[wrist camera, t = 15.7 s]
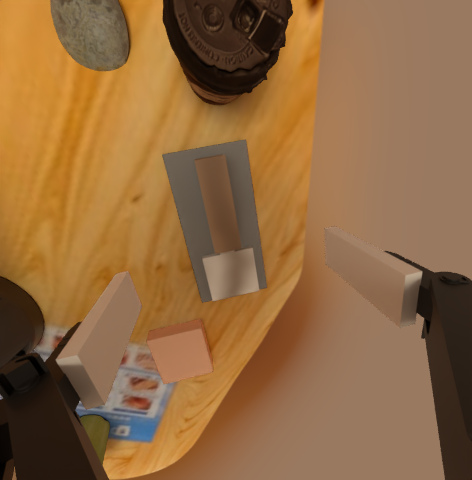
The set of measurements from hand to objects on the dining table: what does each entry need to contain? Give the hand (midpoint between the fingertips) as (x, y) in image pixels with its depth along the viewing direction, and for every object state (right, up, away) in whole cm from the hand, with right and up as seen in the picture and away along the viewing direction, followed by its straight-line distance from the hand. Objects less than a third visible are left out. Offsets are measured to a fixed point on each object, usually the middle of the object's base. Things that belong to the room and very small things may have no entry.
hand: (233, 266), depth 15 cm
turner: (-1, +3, +16) cm, 16 cm away
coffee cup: (-2, +20, +10) cm, 23 cm away
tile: (-9, -12, +20) cm, 24 cm away
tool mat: (-2, +3, +16) cm, 17 cm away
